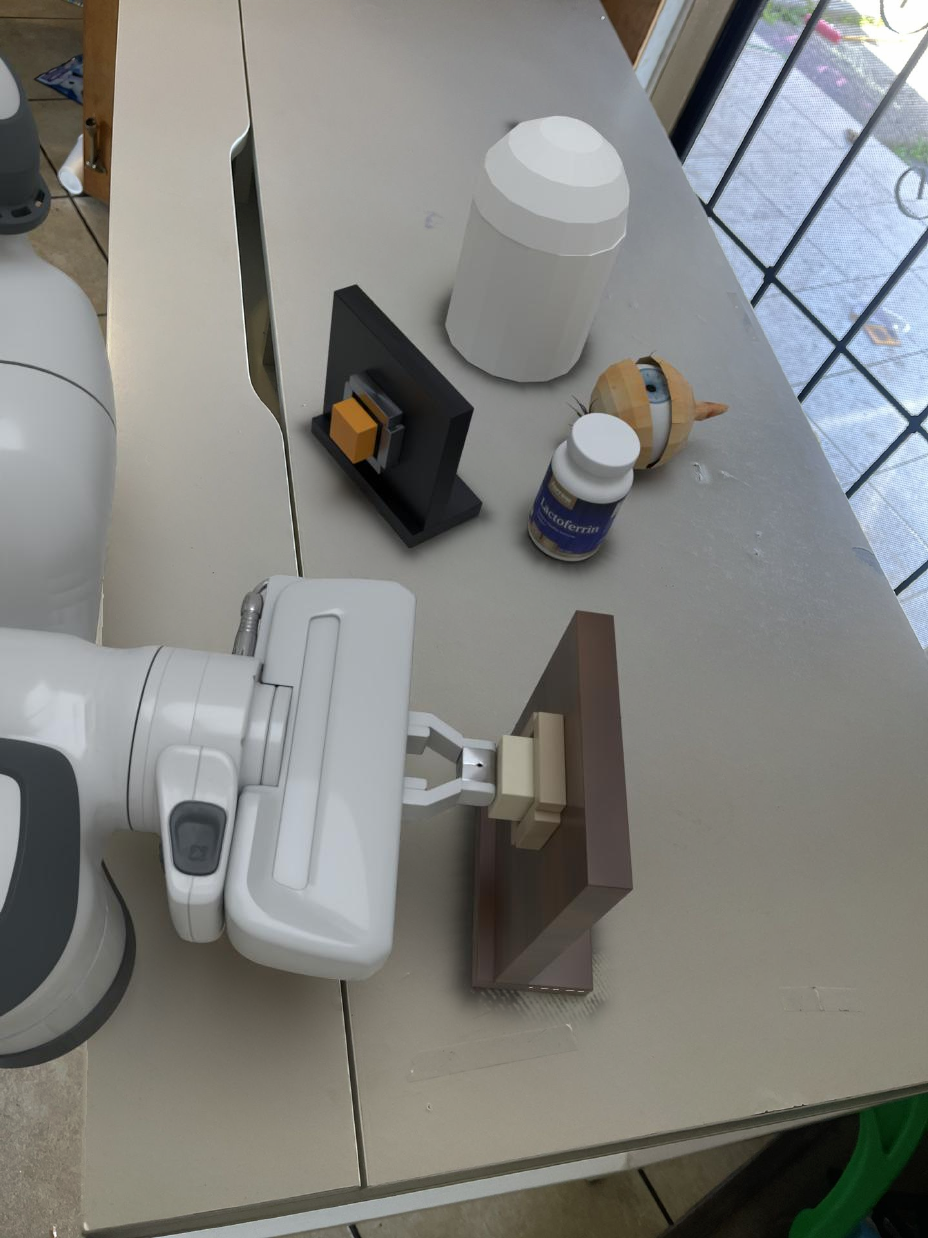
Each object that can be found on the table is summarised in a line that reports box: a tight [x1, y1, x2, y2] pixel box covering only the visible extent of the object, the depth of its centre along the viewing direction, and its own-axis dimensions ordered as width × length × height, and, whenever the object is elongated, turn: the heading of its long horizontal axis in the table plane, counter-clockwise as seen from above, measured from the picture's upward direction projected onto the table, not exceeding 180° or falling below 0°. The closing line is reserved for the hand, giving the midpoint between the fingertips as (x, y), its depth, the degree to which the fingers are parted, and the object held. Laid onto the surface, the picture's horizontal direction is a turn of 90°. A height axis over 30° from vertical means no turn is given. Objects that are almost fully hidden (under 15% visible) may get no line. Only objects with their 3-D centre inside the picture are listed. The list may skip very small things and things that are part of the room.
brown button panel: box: [471, 609, 634, 997], centre depth 51 cm, size 7×14×20 cm, turn 178°
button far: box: [330, 398, 378, 464], centre depth 67 cm, size 2×3×3 cm, turn 38°
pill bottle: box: [527, 413, 640, 562], centre depth 71 cm, size 6×6×11 cm
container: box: [444, 115, 631, 383], centre depth 80 cm, size 14×13×20 cm
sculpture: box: [566, 350, 730, 470], centre depth 78 cm, size 9×9×15 cm
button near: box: [488, 734, 535, 821], centre depth 46 cm, size 2×3×3 cm, turn 178°
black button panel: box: [310, 283, 483, 549], centre depth 70 cm, size 7×14×14 cm, turn 38°
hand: (493, 774), depth 46 cm, fingers closed, pressing on button near
